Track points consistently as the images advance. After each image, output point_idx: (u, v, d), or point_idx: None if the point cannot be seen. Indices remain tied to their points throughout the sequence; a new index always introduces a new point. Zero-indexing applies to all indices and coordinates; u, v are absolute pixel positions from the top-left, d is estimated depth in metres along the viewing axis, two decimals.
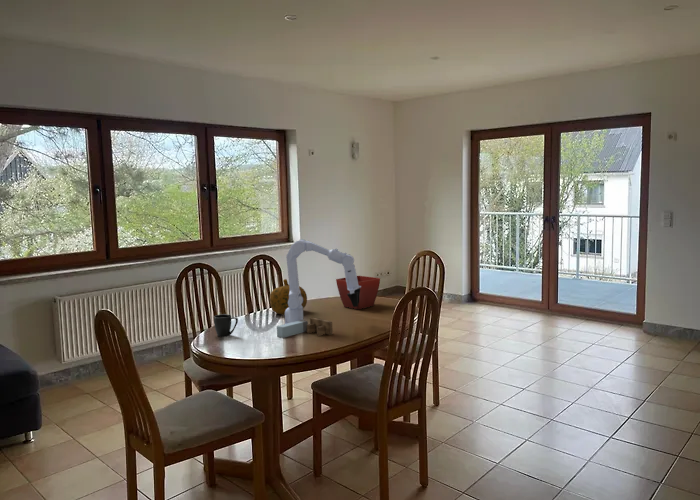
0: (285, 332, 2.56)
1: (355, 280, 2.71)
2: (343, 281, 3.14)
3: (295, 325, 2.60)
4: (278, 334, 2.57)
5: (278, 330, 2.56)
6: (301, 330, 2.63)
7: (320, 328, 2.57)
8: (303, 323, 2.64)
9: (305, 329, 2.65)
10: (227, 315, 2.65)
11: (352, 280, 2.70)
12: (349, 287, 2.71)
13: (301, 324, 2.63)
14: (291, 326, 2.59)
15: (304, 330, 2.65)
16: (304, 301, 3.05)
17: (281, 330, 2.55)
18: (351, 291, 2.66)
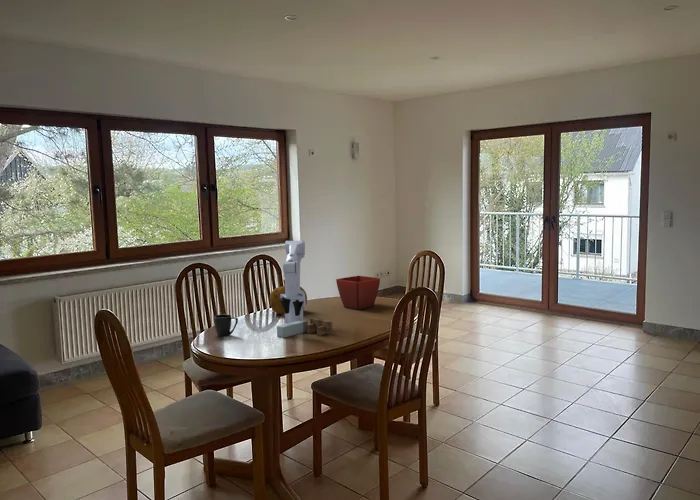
0: (285, 332, 2.56)
1: (285, 288, 2.59)
2: (343, 281, 3.14)
3: (295, 325, 2.60)
4: (278, 334, 2.57)
5: (278, 330, 2.56)
6: (301, 330, 2.63)
7: (320, 328, 2.57)
8: (303, 323, 2.64)
9: (305, 329, 2.65)
10: (227, 315, 2.65)
11: None
12: None
13: (301, 324, 2.63)
14: (291, 326, 2.59)
15: (304, 330, 2.65)
16: None
17: (281, 330, 2.55)
18: None
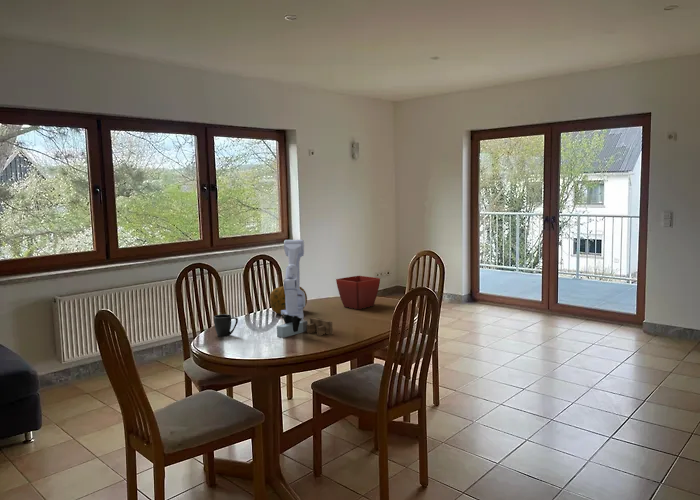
0: (285, 332, 2.56)
1: None
2: (343, 281, 3.14)
3: None
4: (278, 334, 2.57)
5: (278, 330, 2.56)
6: (301, 330, 2.63)
7: (320, 328, 2.57)
8: (303, 323, 2.64)
9: (305, 329, 2.65)
10: (227, 315, 2.65)
11: None
12: None
13: (301, 324, 2.63)
14: (291, 326, 2.58)
15: (304, 330, 2.65)
16: None
17: (281, 330, 2.55)
18: None
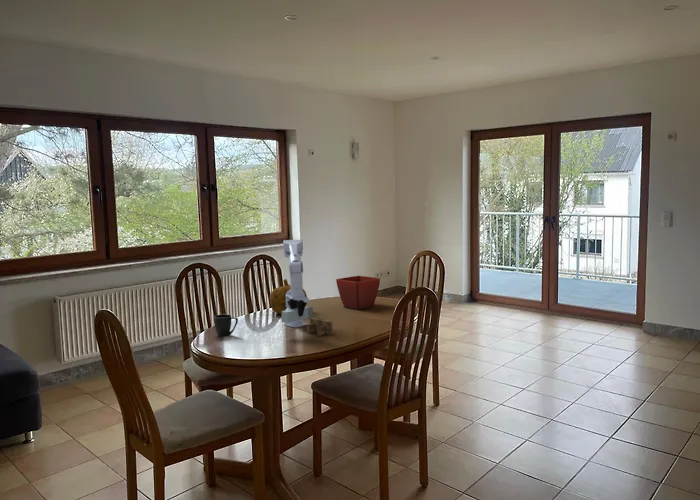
0: (289, 317, 2.52)
1: (290, 289, 2.57)
2: (343, 281, 3.14)
3: None
4: (283, 319, 2.53)
5: (283, 315, 2.53)
6: (306, 316, 2.59)
7: (320, 328, 2.57)
8: (308, 309, 2.60)
9: (310, 315, 2.61)
10: (227, 315, 2.65)
11: None
12: None
13: (306, 310, 2.59)
14: (296, 311, 2.55)
15: (309, 316, 2.61)
16: None
17: (286, 315, 2.51)
18: None
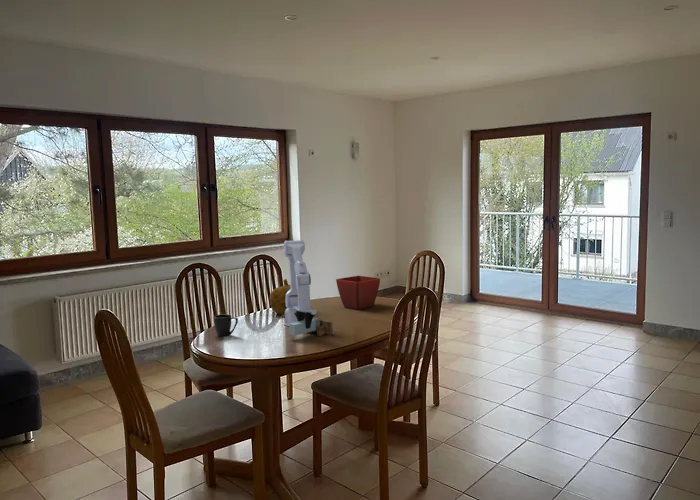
0: (297, 330, 2.49)
1: (298, 301, 2.54)
2: (343, 281, 3.14)
3: None
4: (290, 332, 2.50)
5: (290, 328, 2.50)
6: (313, 328, 2.57)
7: (320, 328, 2.57)
8: (315, 321, 2.58)
9: None
10: (227, 315, 2.65)
11: None
12: None
13: (313, 322, 2.57)
14: (303, 324, 2.52)
15: None
16: None
17: (294, 328, 2.48)
18: None
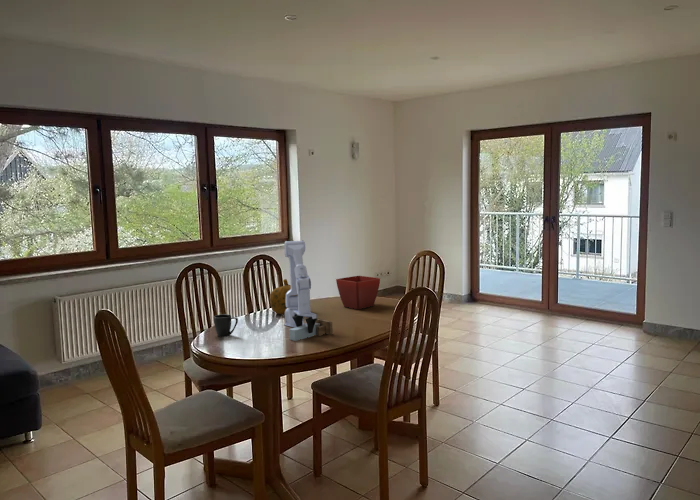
0: (297, 335, 2.50)
1: (298, 305, 2.54)
2: (343, 281, 3.14)
3: None
4: (290, 337, 2.51)
5: (290, 333, 2.50)
6: (314, 333, 2.57)
7: (320, 328, 2.57)
8: (316, 326, 2.58)
9: None
10: (227, 315, 2.65)
11: None
12: None
13: (314, 327, 2.57)
14: (304, 329, 2.52)
15: None
16: None
17: (294, 333, 2.49)
18: None
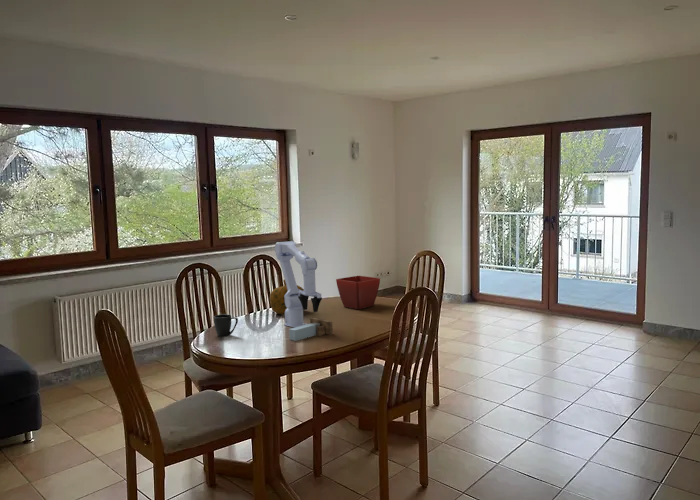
0: (297, 335, 2.50)
1: None
2: (343, 281, 3.14)
3: (308, 328, 2.54)
4: (290, 337, 2.51)
5: (290, 333, 2.50)
6: (314, 333, 2.57)
7: (320, 328, 2.57)
8: (316, 326, 2.58)
9: None
10: (227, 315, 2.65)
11: None
12: None
13: (314, 327, 2.57)
14: (304, 329, 2.52)
15: None
16: None
17: (294, 333, 2.49)
18: None
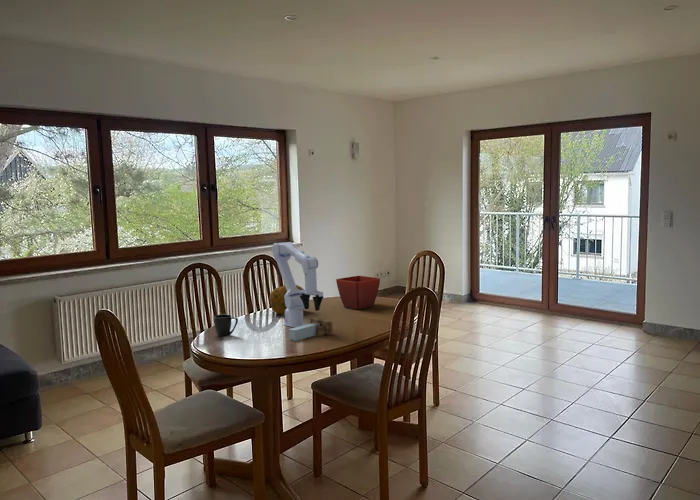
0: (297, 335, 2.50)
1: (305, 284, 2.64)
2: (343, 281, 3.14)
3: (308, 328, 2.54)
4: (290, 337, 2.51)
5: (290, 333, 2.50)
6: (314, 333, 2.57)
7: (320, 328, 2.57)
8: (316, 326, 2.58)
9: None
10: (227, 315, 2.65)
11: None
12: None
13: (314, 327, 2.57)
14: (304, 329, 2.52)
15: None
16: None
17: (294, 333, 2.49)
18: None
